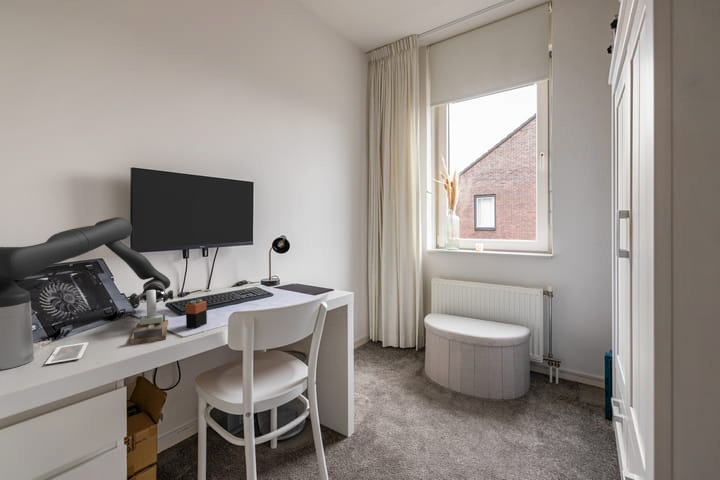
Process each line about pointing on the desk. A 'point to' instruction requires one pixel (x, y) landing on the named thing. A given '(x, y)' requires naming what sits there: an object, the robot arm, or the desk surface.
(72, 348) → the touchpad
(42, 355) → the desk surface
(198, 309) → the battery
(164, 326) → the rail base
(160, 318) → the keeper
